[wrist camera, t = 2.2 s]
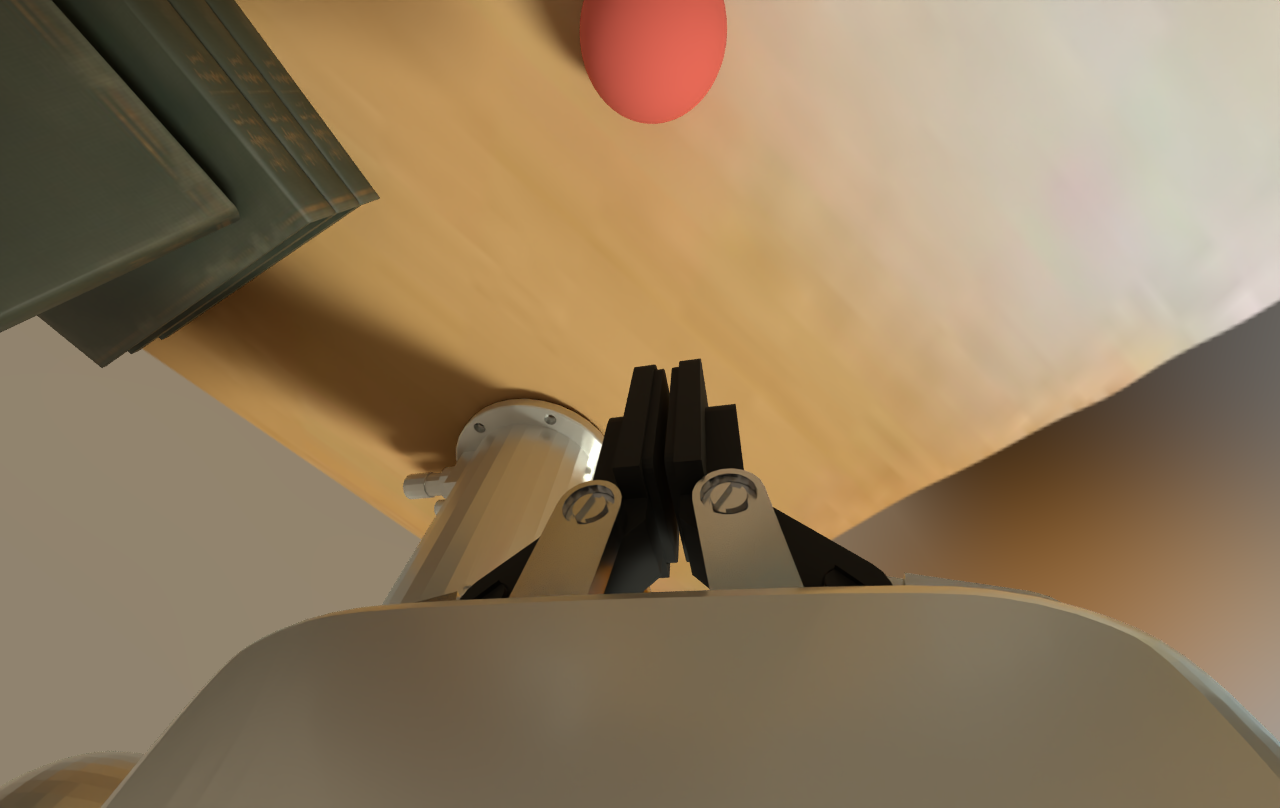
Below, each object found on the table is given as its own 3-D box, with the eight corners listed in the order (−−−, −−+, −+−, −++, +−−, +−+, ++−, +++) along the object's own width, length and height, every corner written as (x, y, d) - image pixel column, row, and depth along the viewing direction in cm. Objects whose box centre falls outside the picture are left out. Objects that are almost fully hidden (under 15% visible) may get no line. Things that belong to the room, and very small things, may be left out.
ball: (611, 132, 24) (588, 143, 19) (578, -21, 21) (542, -56, 16) (729, 104, 23) (739, 108, 18) (715, -63, 20) (722, -114, 15)
